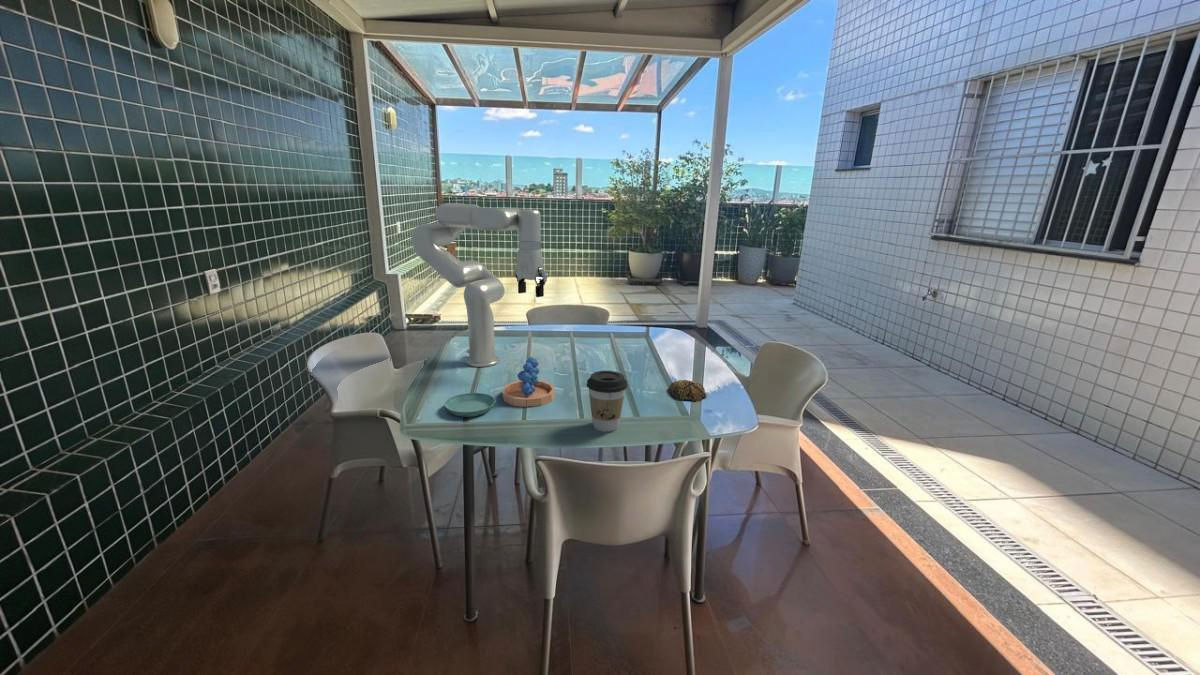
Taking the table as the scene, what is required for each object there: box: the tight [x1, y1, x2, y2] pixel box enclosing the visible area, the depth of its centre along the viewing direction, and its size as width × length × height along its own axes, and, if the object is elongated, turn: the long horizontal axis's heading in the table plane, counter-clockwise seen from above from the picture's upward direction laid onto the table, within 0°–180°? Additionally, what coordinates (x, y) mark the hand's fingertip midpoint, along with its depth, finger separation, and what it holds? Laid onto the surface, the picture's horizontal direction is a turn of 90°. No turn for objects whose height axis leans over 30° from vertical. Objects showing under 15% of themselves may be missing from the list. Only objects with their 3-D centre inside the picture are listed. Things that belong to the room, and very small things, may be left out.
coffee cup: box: [586, 370, 629, 433], centre depth 134 cm, size 11×11×15 cm
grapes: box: [517, 356, 541, 397], centre depth 154 cm, size 12×7×12 cm, turn 168°
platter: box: [502, 379, 556, 408], centre depth 156 cm, size 16×16×2 cm
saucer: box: [444, 392, 496, 418], centre depth 145 cm, size 15×15×3 cm
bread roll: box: [668, 379, 707, 402], centre depth 160 cm, size 13×12×5 cm
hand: (530, 294), depth 173 cm, fingers open, 9 cm apart
